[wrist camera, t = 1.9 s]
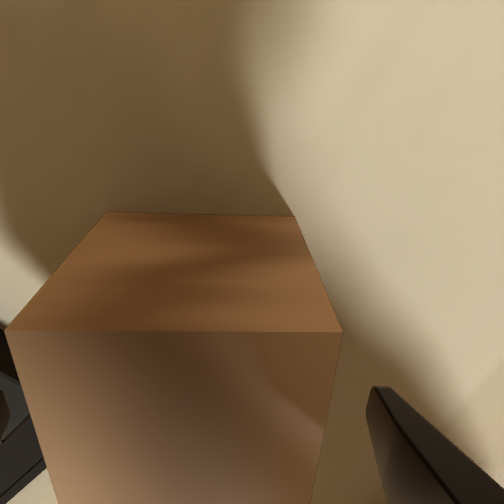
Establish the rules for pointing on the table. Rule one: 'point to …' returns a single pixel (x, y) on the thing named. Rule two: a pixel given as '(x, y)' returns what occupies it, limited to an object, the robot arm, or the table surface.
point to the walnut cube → (180, 362)
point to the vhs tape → (16, 433)
